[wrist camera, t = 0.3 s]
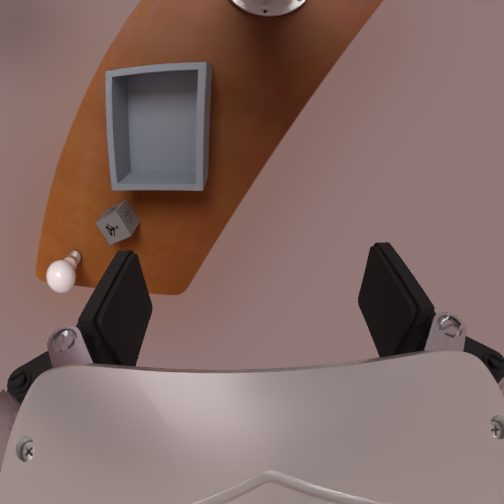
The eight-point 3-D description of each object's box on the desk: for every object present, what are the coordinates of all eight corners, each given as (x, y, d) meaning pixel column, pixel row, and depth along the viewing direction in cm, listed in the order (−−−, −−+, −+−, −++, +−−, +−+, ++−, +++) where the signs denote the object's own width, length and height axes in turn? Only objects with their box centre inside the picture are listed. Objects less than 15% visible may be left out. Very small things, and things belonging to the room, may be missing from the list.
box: (125, 71, 35) (105, 71, 29) (212, 65, 35) (206, 62, 30) (128, 175, 44) (112, 190, 39) (208, 175, 45) (202, 190, 39)
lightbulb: (90, 247, 52) (67, 280, 43) (88, 270, 55) (67, 304, 46) (65, 237, 51) (39, 268, 41) (65, 260, 54) (42, 292, 45)
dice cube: (106, 209, 48) (95, 222, 44) (126, 199, 47) (116, 211, 43) (119, 231, 50) (110, 245, 46) (140, 222, 50) (131, 235, 45)
